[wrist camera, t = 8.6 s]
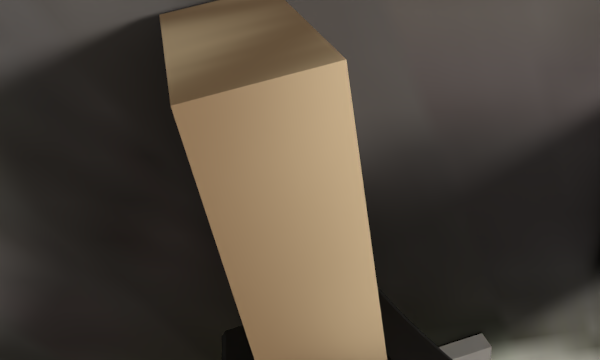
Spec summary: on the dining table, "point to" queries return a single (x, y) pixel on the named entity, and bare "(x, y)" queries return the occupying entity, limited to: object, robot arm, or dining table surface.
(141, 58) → the dining table surface
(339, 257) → the blade batten
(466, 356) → the floor board
